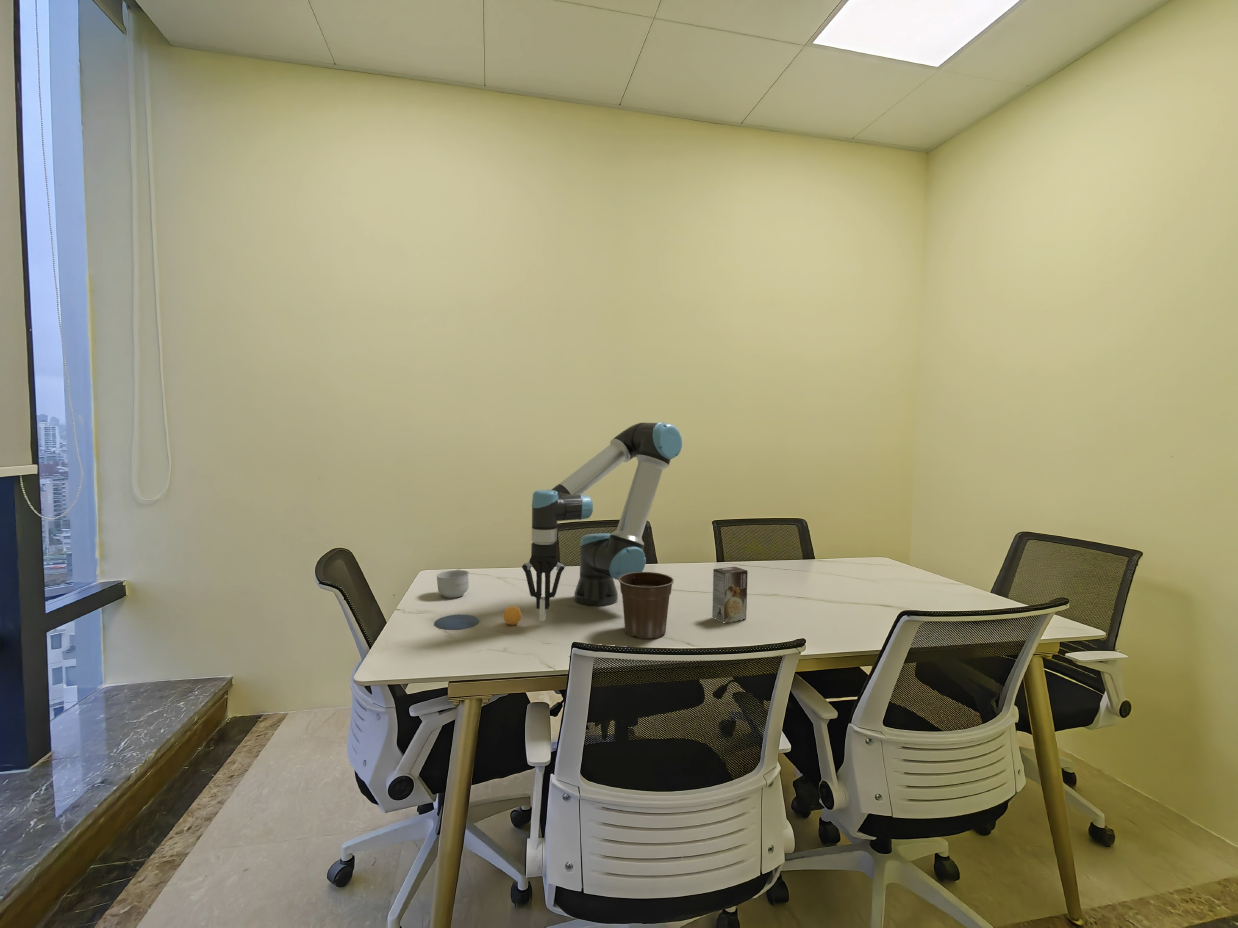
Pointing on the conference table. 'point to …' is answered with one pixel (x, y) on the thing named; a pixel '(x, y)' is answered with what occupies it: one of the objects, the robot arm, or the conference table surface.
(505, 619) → the ball
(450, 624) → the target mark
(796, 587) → the conference table surface
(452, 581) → the teacup
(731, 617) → the coffee box
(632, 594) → the plant pot
